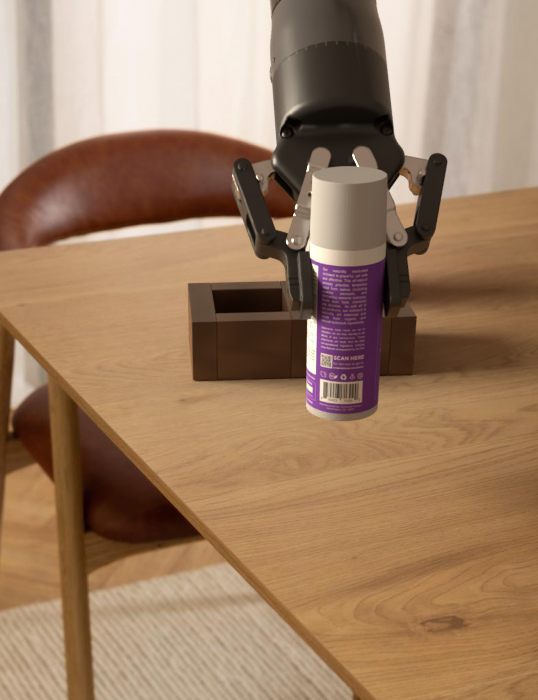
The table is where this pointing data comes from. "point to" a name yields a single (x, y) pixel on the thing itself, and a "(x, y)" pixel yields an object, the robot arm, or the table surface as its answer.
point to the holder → (270, 333)
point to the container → (346, 291)
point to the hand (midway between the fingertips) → (350, 311)
